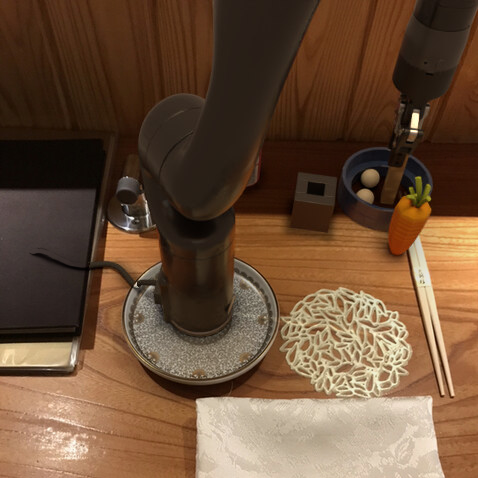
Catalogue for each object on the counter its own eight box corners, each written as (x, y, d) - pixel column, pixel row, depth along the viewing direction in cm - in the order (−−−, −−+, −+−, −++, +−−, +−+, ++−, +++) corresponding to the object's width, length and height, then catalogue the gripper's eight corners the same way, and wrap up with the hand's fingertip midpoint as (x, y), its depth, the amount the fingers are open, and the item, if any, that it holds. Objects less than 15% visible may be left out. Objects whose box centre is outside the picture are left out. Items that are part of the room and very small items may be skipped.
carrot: (409, 270, 86) (442, 200, 73) (377, 264, 86) (404, 194, 74) (411, 245, 89) (443, 174, 76) (379, 240, 89) (406, 168, 76)
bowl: (333, 228, 90) (339, 204, 85) (339, 167, 97) (345, 141, 93) (422, 241, 89) (433, 217, 84) (421, 178, 97) (431, 153, 92)
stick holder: (289, 231, 89) (294, 200, 83) (293, 204, 92) (298, 172, 87) (326, 236, 89) (334, 205, 83) (329, 209, 92) (337, 177, 86)
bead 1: (380, 175, 94) (363, 182, 95) (375, 162, 92) (357, 169, 93) (382, 187, 92) (365, 193, 94) (377, 174, 90) (359, 181, 92)
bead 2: (377, 207, 91) (371, 193, 92) (375, 196, 88) (369, 182, 90) (359, 214, 91) (354, 200, 93) (356, 203, 89) (351, 189, 90)
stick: (380, 203, 92) (401, 134, 80) (380, 194, 93) (401, 125, 81) (392, 205, 92) (415, 135, 80) (392, 196, 93) (415, 126, 81)
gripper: (401, 16, 74) (371, 123, 89) (400, 81, 67) (367, 187, 82) (458, 23, 74) (418, 130, 89) (464, 89, 66) (419, 194, 81)
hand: (394, 156), depth 85 cm, fingers open, 3 cm apart
